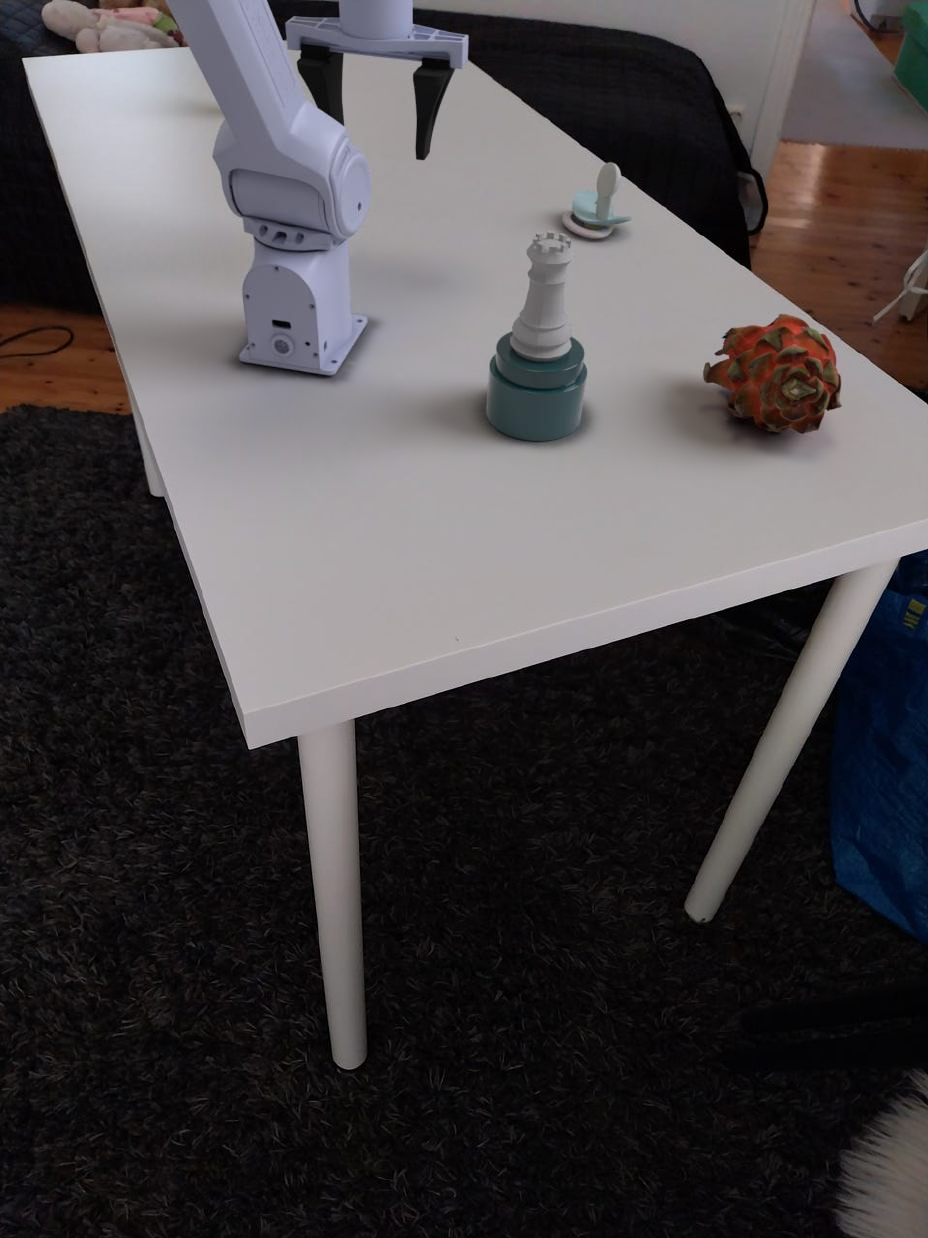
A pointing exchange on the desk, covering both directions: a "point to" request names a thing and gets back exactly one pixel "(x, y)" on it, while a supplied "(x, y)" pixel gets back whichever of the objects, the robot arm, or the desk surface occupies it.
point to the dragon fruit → (778, 374)
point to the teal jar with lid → (535, 393)
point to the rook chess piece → (545, 302)
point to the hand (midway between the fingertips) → (379, 150)
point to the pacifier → (601, 215)
